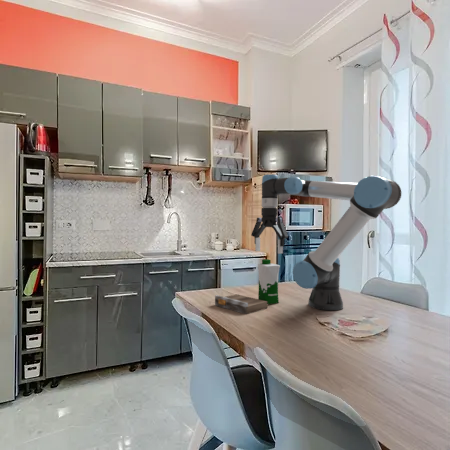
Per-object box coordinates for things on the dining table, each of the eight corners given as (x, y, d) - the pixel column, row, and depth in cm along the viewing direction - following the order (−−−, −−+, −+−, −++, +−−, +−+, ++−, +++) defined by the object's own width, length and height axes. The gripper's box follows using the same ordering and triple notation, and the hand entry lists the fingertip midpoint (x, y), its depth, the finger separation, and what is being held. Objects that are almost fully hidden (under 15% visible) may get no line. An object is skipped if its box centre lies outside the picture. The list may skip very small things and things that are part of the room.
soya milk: (270, 299, 162) (270, 258, 162) (281, 303, 154) (282, 260, 154) (255, 300, 158) (255, 259, 158) (266, 305, 150) (266, 261, 150)
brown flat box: (267, 308, 145) (267, 298, 145) (244, 314, 135) (244, 303, 135) (236, 300, 159) (236, 291, 159) (214, 305, 149) (214, 295, 149)
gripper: (244, 207, 162) (244, 250, 163) (286, 206, 144) (285, 255, 145) (254, 208, 167) (254, 249, 168) (296, 207, 149) (295, 254, 150)
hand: (268, 252), depth 156 cm, fingers open, 13 cm apart
